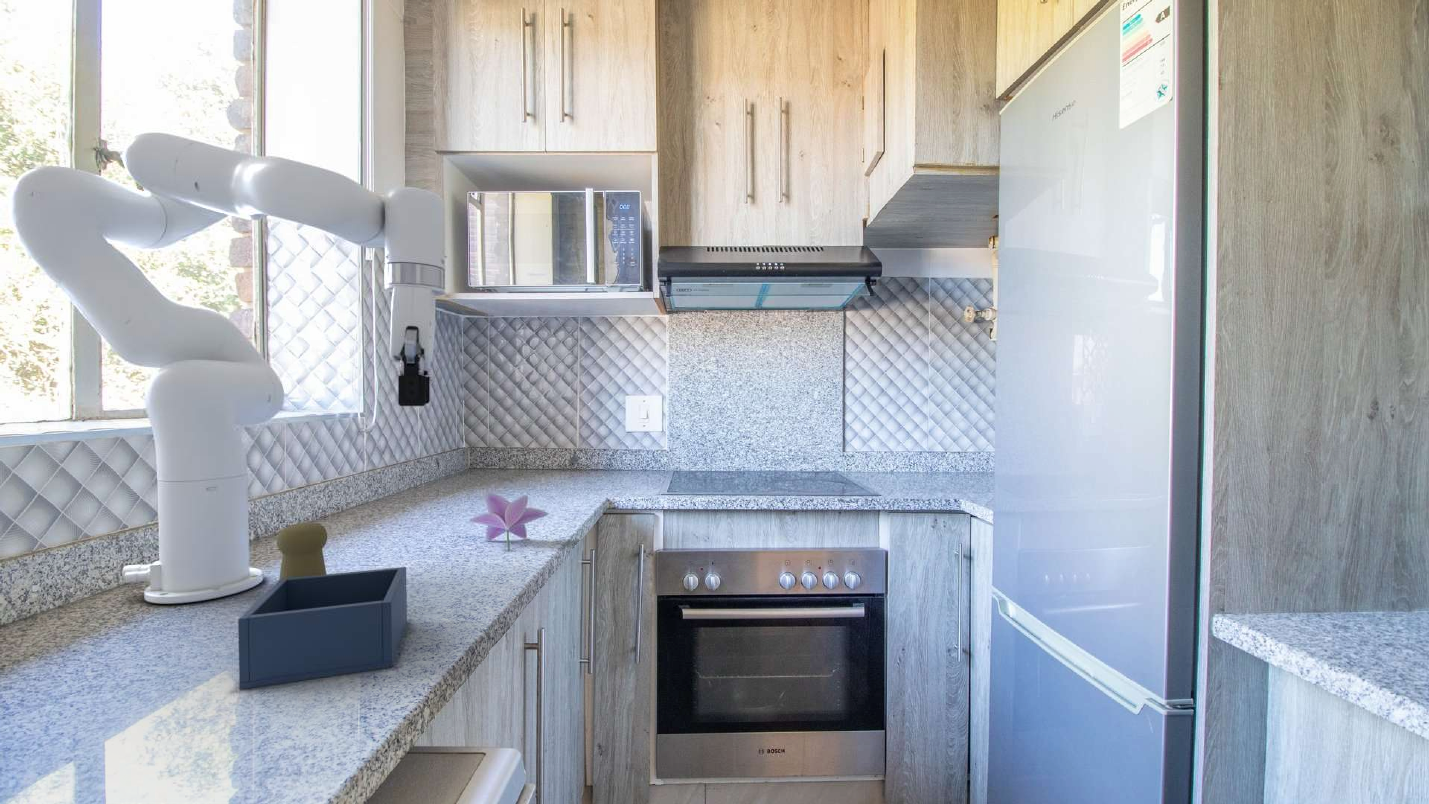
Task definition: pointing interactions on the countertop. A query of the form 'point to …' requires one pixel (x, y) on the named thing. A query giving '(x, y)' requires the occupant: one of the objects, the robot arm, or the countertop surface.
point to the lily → (507, 516)
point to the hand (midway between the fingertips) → (414, 404)
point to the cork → (302, 550)
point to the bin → (323, 627)
